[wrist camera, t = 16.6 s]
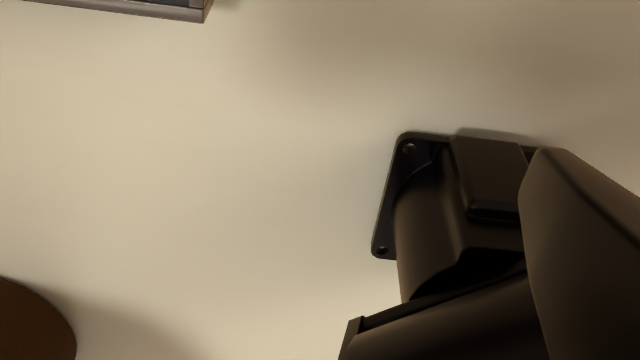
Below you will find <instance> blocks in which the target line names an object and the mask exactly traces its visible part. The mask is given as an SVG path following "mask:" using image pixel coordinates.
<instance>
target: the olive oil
mask: <svg viewBox="0 0 640 360" xmlns="http://www.w3.org/2000/svg"><path fill="white" fill-rule="evenodd" d="M76 352H77V345H76V340H75V337H74V334H73V332H72V330H71V328H70V327H69V325H68V323H67V322H66V321H65V319H64V318H63V317H62V316H61V315H60V314H59V313H58V312H57V311H56V310H55V309H54V308H53V307H52V306H51V305H50V304H48V303H47V302H46V301H44V300H43V299H41V298H40V297H38V296H37V295H35V294H33V293H32V292H30V291H28V290H26V289H24V288H22V287H20V286H18V285H15V284H13V283H11V282H8V281H5V280H2V279H0V360H75V358H76Z"/></svg>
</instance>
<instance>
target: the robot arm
mask: <svg viewBox="0 0 640 360" xmlns="http://www.w3.org/2000/svg"><path fill="white" fill-rule="evenodd" d="M409 143H411V144H414V146H413V147H412V148H408V149H407V148H404V145H406V144H409ZM382 246H384V247H385V248H382V249H380V248H379V247H382ZM371 253H372V255H373V256H375V257H376V258H380V259H388V260H397V268H398V277H399V285H400V294H401V302H402V304H400V305H397V306H395V307H392V308H389V309H387V310H384V311H381V312H379V313H376V314H373V315H371V316H368V317H364V316H360V317H357V318H355V319H352V320H349V322H348V326H347V329H346V333H345V336H344V340H343V343H342V347H341V350H340V354H339V357H338V360H640V198H639V197H638V196H636V195H635V194H633V193H632V192H630V191H628V190H627V189H625V188H624V187H622V186H621V185H619V184H618V183H616V182H615V181H613V180H612V179H610V178H609V177H607V176H606V175H604V174H603V173H601V172H600V171H598V170H597V169H595V168H594V167H592V166H591V165H589V164H588V163H586V162H585V161H583V160H582V159H580V158H579V157H577V156H576V155H574V154H573V153H571V152H569V151H568V150H565V149H560V148H552V147H541V148H535V147H527V146H519V144H518V143H514V142H506V141H497V140H489V139H481V138H473V137H464V136H456V137H453V138H452V137H444V136H436V135H428V134H419V133H404V134H402V135H400V136H399V137H398V139H397V141H396V143H395V148H394V152H393V156H392V160H391V164H390V168H389V172H388V176H387V180H386V184H385V188H384V192H383V196H382V200H381V204H380V208H379V212H378V216H377V220H376V224H375V228H374V232H373V236H372V241H371Z"/></svg>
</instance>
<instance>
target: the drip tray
mask: <svg viewBox="0 0 640 360" xmlns="http://www.w3.org/2000/svg"><path fill="white" fill-rule="evenodd" d="M23 1H31V2H39V3H46V4H54V5H62V6H70V7H77V8H85V9H93V10H100V11H108V12H116V13H124V14H131V15H139V16H147V17H154V18H162V19H170V20H178V21H185V22H193V23H201V24H203V23H204V21H205V19H206V17H207V15H208V13H209V11H210V8H211V6H212V4H213V2H214V0H23Z"/></svg>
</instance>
